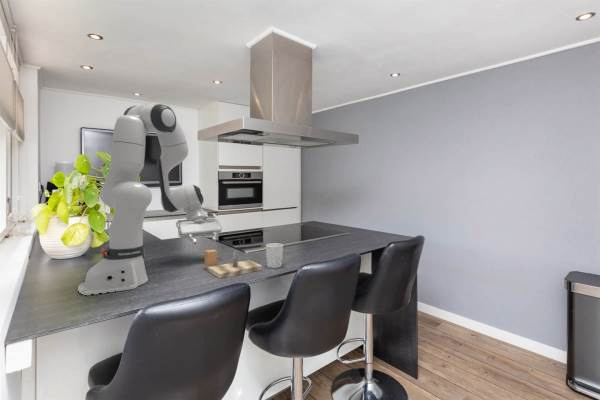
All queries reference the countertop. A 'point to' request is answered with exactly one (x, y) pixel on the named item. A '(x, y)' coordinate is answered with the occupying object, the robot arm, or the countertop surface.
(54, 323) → the countertop surface
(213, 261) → the orange brown wooden block
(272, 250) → the white cup
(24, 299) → the countertop surface
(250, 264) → the post base
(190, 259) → the countertop surface
